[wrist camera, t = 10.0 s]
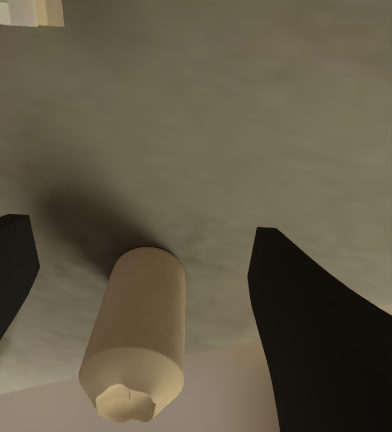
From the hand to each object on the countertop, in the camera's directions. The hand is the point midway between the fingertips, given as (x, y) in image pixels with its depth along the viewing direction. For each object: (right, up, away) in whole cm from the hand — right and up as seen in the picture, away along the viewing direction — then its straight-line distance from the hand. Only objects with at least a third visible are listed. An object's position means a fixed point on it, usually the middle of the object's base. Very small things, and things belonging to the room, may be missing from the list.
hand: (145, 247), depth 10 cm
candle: (-2, -3, +14) cm, 15 cm away
